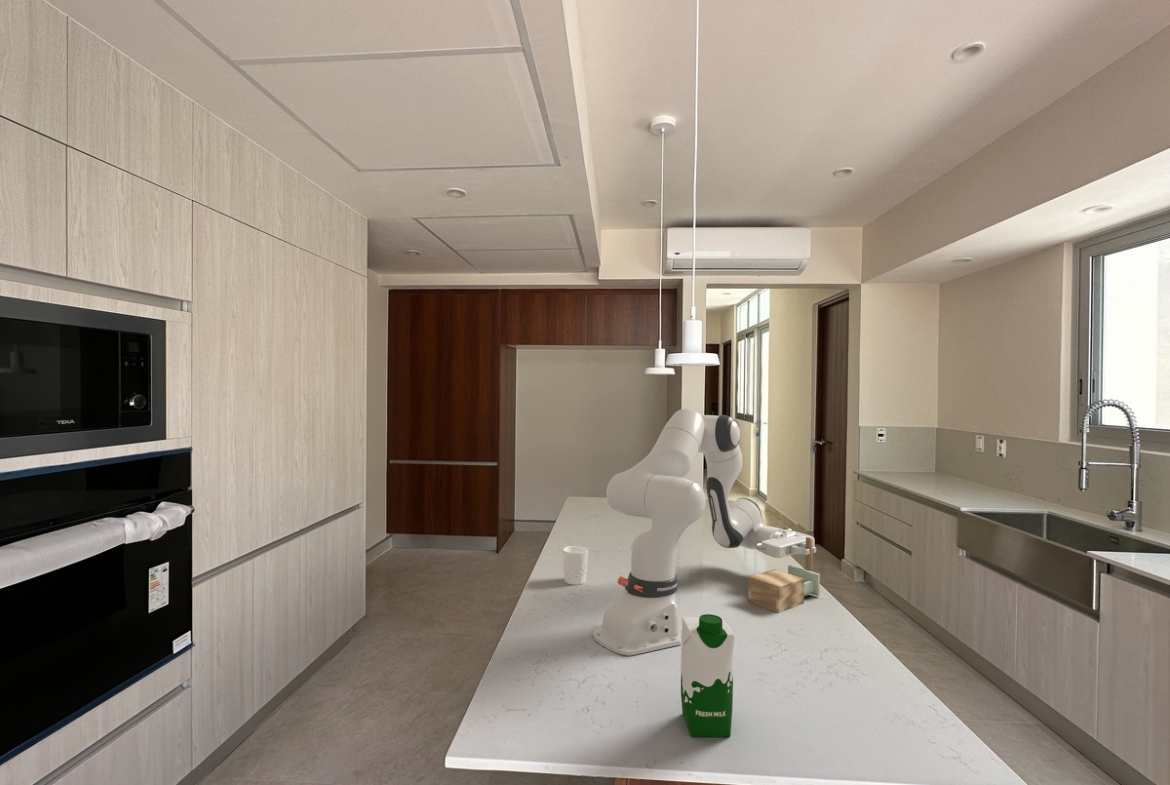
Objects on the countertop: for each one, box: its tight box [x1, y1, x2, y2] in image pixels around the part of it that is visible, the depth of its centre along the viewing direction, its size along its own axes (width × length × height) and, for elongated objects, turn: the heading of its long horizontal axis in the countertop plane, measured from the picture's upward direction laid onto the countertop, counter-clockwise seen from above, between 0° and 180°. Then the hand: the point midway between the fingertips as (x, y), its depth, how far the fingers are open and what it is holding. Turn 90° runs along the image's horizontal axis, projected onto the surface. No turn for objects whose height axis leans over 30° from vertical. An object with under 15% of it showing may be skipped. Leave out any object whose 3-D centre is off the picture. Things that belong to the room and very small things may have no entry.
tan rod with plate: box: [787, 537, 821, 597], centre depth 165 cm, size 15×10×16 cm, turn 127°
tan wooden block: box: [748, 568, 805, 613], centre depth 159 cm, size 12×10×7 cm
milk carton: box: [680, 613, 735, 738], centre depth 100 cm, size 9×9×20 cm
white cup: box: [562, 545, 589, 586], centre depth 173 cm, size 8×8×10 cm
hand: (811, 551), depth 168 cm, fingers closed on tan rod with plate, 2 cm apart
